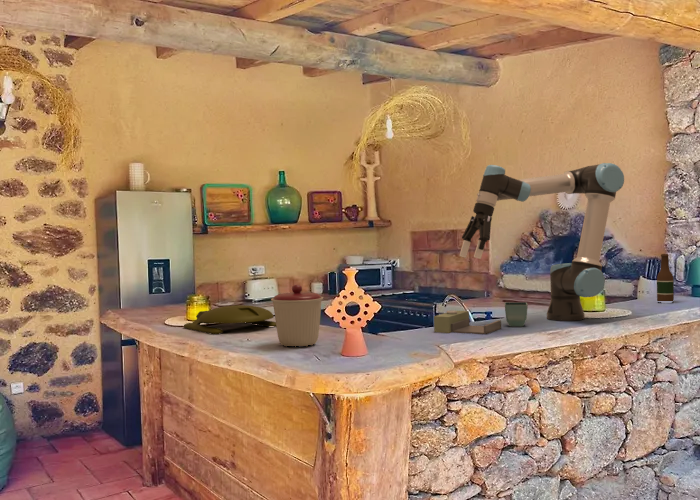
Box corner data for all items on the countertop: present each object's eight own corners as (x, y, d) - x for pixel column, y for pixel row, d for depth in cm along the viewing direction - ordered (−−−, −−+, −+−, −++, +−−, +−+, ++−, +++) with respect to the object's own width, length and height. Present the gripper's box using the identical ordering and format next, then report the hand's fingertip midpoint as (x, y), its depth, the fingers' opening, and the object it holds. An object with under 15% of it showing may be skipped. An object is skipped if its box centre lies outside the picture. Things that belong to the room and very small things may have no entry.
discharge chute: (501, 328, 271) (501, 320, 270) (486, 334, 257) (486, 325, 257) (467, 326, 278) (467, 318, 278) (451, 332, 264) (450, 323, 264)
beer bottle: (671, 301, 346) (670, 253, 345) (676, 303, 338) (675, 254, 338) (654, 302, 347) (654, 253, 347) (659, 303, 340) (658, 254, 339)
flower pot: (528, 327, 271) (527, 304, 271) (505, 327, 273) (504, 304, 273) (527, 324, 280) (526, 302, 280) (504, 324, 282) (504, 302, 282)
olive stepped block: (469, 326, 280) (468, 308, 279) (448, 333, 263) (448, 314, 262) (455, 325, 283) (454, 308, 283) (434, 332, 266) (433, 313, 265)
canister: (293, 339, 256) (292, 282, 256) (334, 343, 246) (333, 283, 246) (261, 347, 241) (259, 286, 240) (303, 351, 231) (301, 287, 230)
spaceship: (181, 329, 296) (180, 305, 295) (245, 321, 315) (244, 299, 315) (221, 337, 268) (220, 312, 268) (288, 329, 288) (287, 305, 287)
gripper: (463, 203, 281) (448, 253, 280) (490, 200, 257) (474, 255, 255) (479, 208, 283) (465, 259, 281) (508, 206, 258) (492, 261, 257)
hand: (469, 257), depth 268 cm, fingers open, 13 cm apart
